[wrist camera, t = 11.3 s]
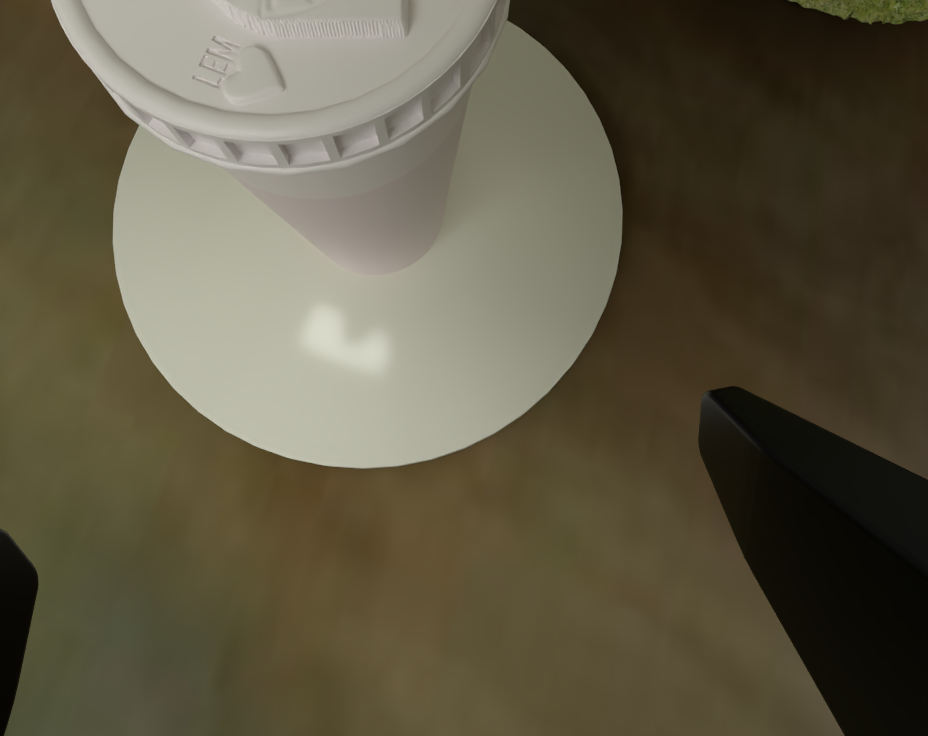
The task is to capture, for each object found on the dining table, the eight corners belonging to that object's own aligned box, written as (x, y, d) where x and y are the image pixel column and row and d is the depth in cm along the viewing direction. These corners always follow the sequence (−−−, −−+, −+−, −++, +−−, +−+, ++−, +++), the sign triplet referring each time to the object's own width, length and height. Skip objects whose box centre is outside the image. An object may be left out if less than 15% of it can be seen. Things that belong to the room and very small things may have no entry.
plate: (661, 67, 20) (670, 46, 19) (549, 528, 18) (554, 531, 17) (221, -36, 21) (209, -62, 20) (59, 393, 19) (36, 388, 18)
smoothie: (373, 373, 18) (29, -22, 4) (210, 212, 18) (-567, -601, 5) (540, 208, 18) (763, -625, 5) (377, 60, 19) (141, -1035, 5)
